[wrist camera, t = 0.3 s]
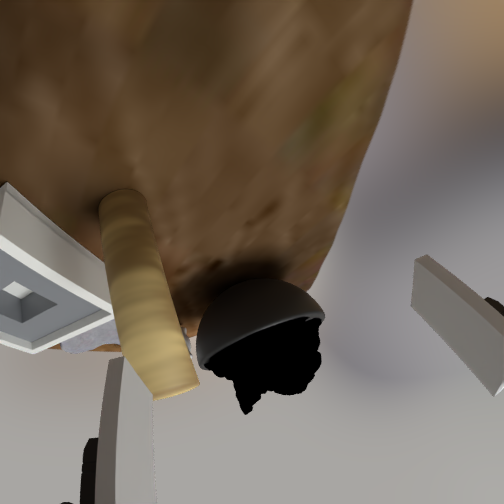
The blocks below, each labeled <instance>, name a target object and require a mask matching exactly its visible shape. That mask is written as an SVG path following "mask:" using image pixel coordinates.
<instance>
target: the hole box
mask: <svg viewBox="0 0 504 504" xmlns="http://www.w3.org/2000/svg"><path fill="white" fill-rule="evenodd" d="M113 319H114V314H113V309H112V304H111V299H110V293H109V287H108V282H107V275H106V269H105V263H104V262H102V261H101V260H100V259H98V258H97V257H96V256H95V255H93V254H92V253H91V252H89V251H88V250H87V249H85V248H84V247H83V246H82V245H80V244H79V243H78V242H77V241H75V240H74V239H73V238H72V237H70V236H69V235H68V234H67V233H65V232H64V231H63V230H62V229H61V228H59V227H58V226H57V225H56V224H55V223H53V222H52V221H51V220H50V219H49V218H47V217H46V216H45V215H44V214H43V213H42V212H40V211H39V210H38V209H37V208H36V207H35V206H34V205H32V204H31V203H30V202H29V201H28V200H27V199H26V198H25V197H23V196H22V195H21V194H20V193H19V192H18V191H17V190H16V189H15V188H14V187H13V186H11V185H10V184H9V183H8V182H6V183H5V184H4V185H3V186H2V187H1V188H0V344H3V345H6V346H9V347H12V348H15V349H18V350H21V351H24V352H28V353H31V354H36V353H38V352H40V351H42V350H45V349H47V348H49V347H52V346H54V345H56V344H58V343H61V342H63V341H65V340H67V339H70V338H72V337H74V336H77V335H79V334H81V333H83V332H86V331H88V330H90V329H92V328H95V327H97V326H99V325H101V324H104V323H106V322H108V321H110V320H113Z"/></svg>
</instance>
